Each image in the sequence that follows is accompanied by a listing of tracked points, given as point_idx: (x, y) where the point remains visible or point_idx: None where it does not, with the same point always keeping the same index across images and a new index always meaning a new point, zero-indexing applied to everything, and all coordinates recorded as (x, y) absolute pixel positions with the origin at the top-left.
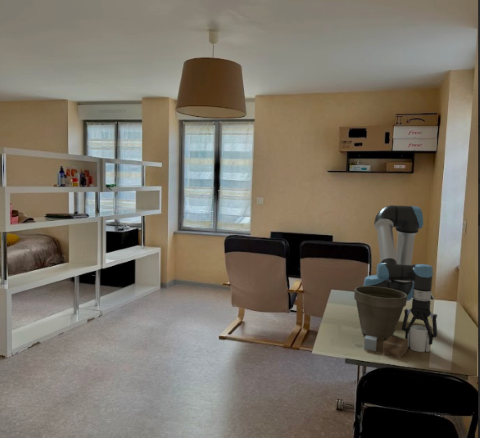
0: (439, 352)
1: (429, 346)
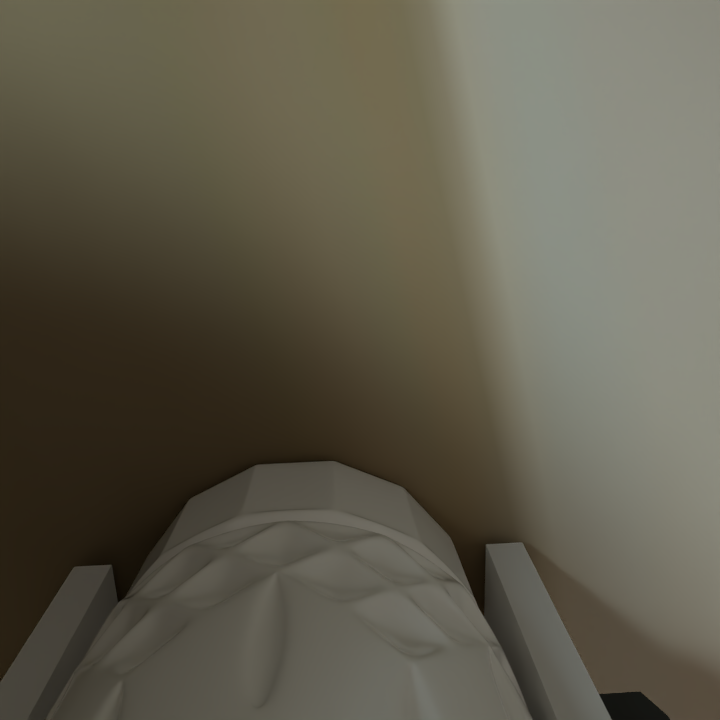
0: (712, 457)
1: (551, 615)
